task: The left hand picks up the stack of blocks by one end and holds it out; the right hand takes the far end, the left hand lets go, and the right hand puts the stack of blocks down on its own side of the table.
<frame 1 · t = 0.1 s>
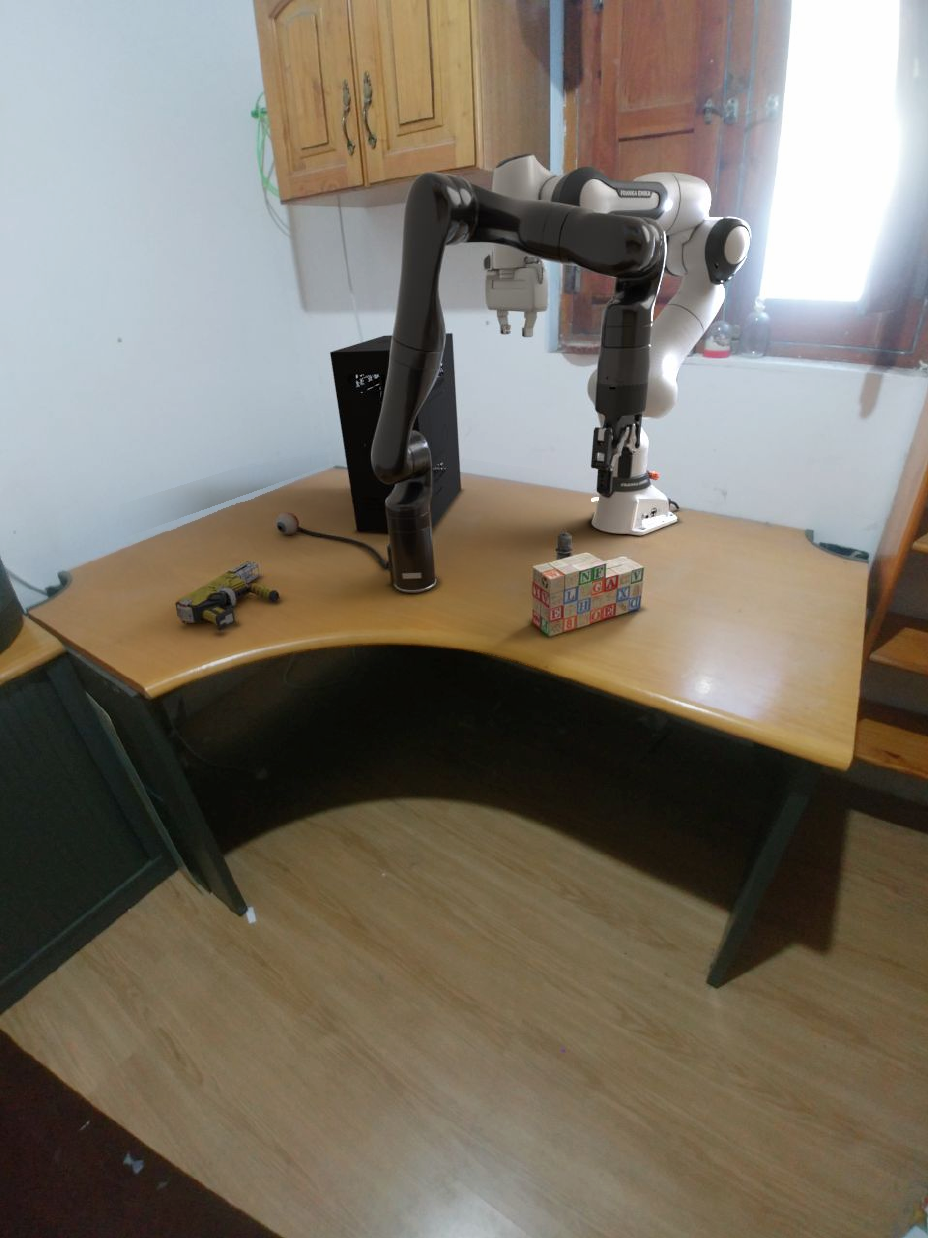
left hand: (614, 485, 97), 29 cm above the table, tool pointing down, fingers open, 8 cm apart
right hand: (516, 335, 125), 48 cm above the table, tool pointing down, fingers open, 8 cm apart
cardboard box: (413, 509, 178), on the table
stack of blocks: (586, 615, 119), on the table
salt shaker: (563, 581, 132), on the table
eyeball: (289, 534, 165), on the table
toy gun: (242, 603, 131), on the table
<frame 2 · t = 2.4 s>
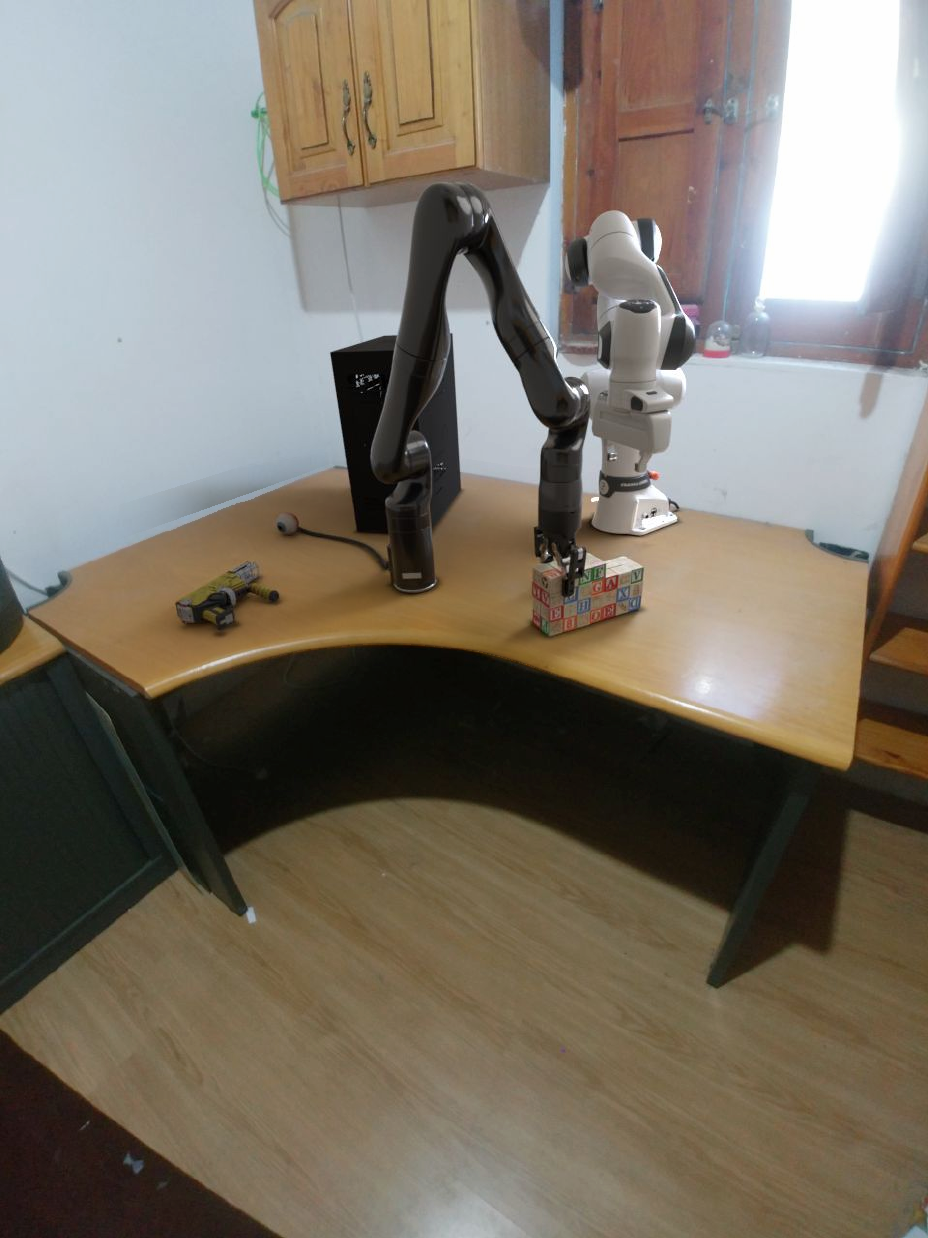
left hand: (557, 588, 112), 8 cm above the table, tool pointing down, fingers closed on stack of blocks, 6 cm apart
right hand: (625, 466, 123), 24 cm above the table, tool pointing down, fingers open, 8 cm apart
stack of blocks: (586, 615, 119), on the table, touching left hand
everything else where it was.
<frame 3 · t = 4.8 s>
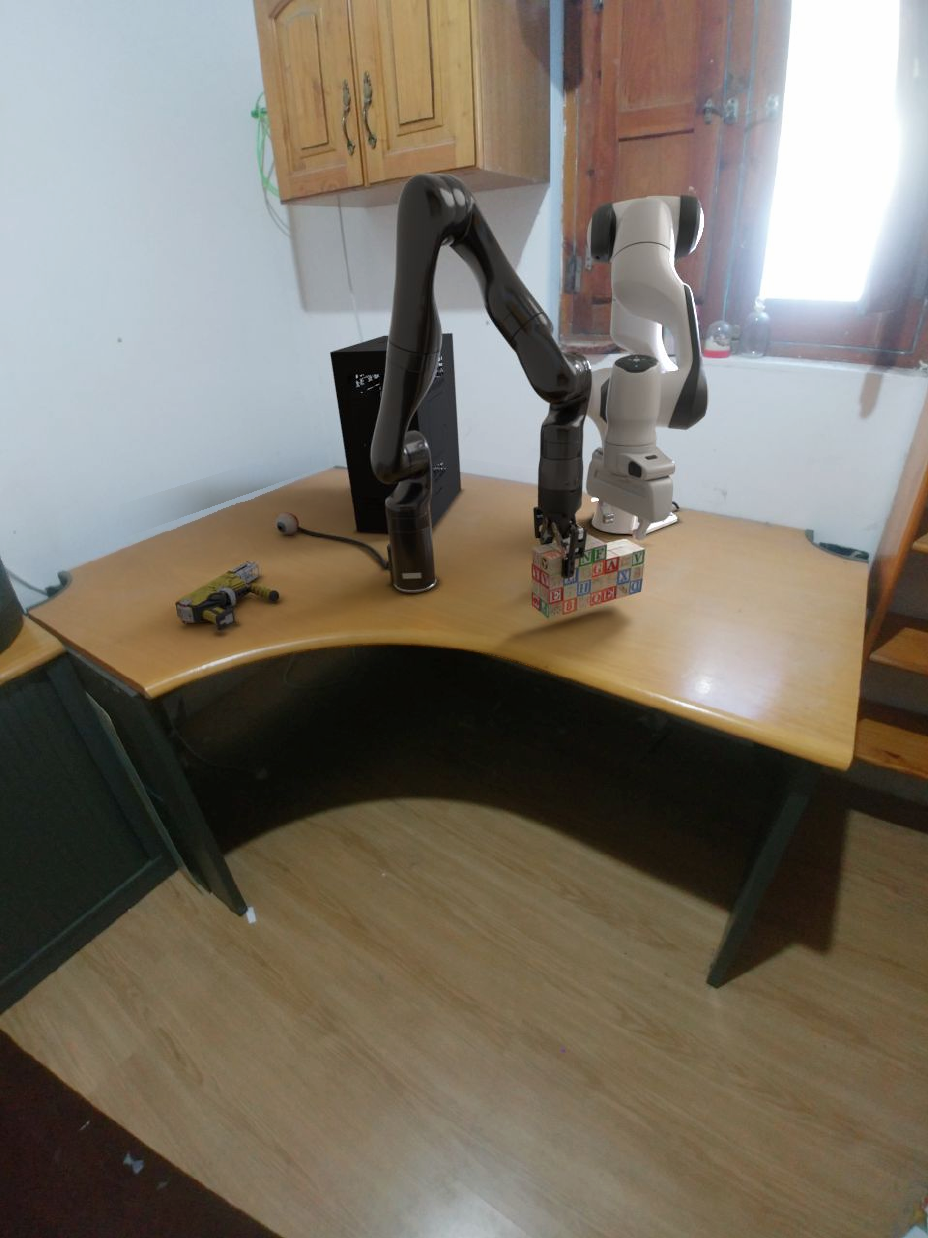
left hand: (557, 569, 111), 12 cm above the table, tool pointing down, fingers closed on stack of blocks, 6 cm apart
right hand: (622, 530, 113), 16 cm above the table, tool pointing down, fingers open, 8 cm apart
stack of blocks: (586, 599, 117), point 4 cm above the table, touching left hand
everything else where it was.
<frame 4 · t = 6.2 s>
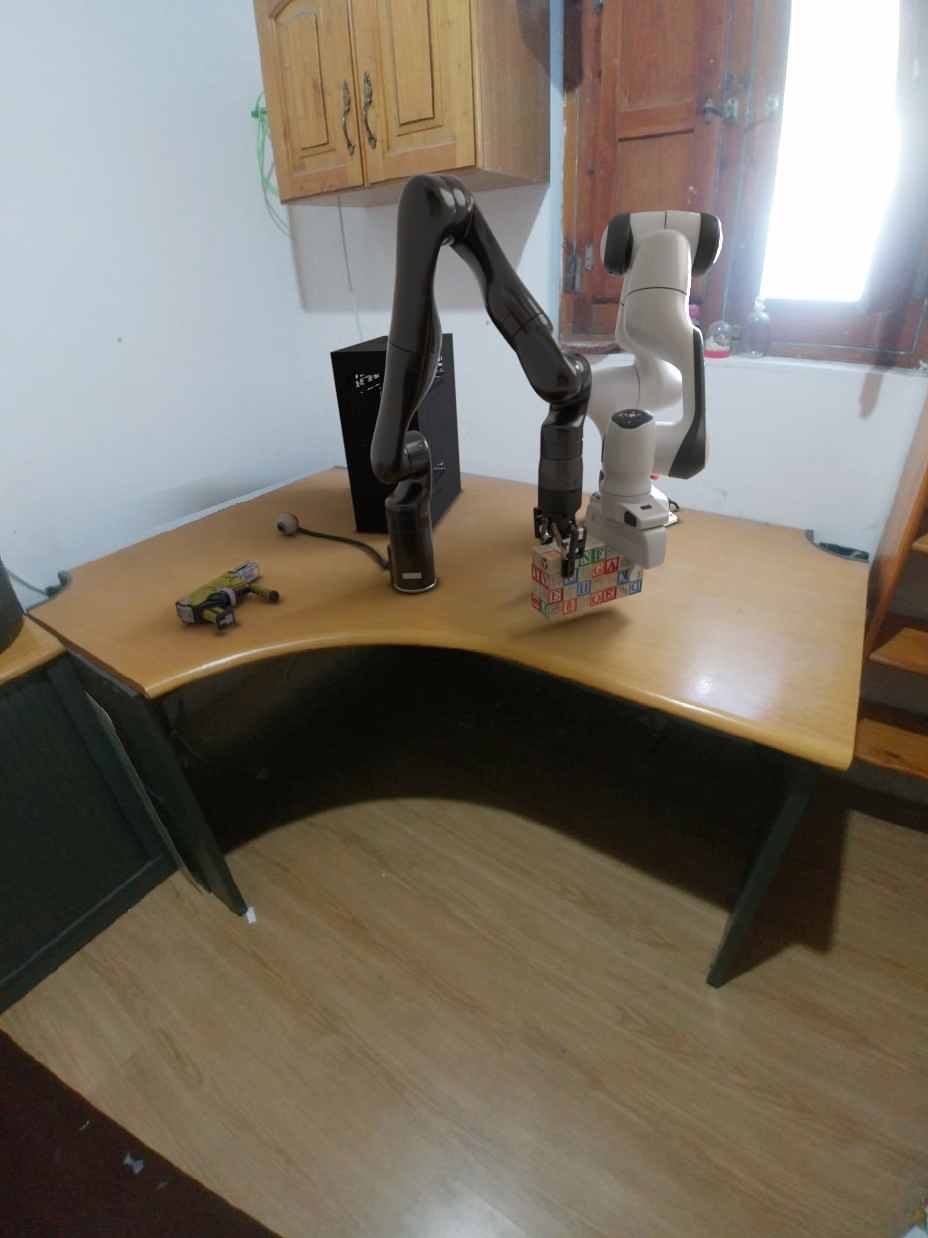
left hand: (557, 570, 111), 12 cm above the table, tool pointing down, fingers closed on stack of blocks, 6 cm apart
right hand: (618, 572, 117), 8 cm above the table, tool pointing down, fingers closed on stack of blocks, 6 cm apart
stack of blocks: (586, 599, 117), point 4 cm above the table, touching right hand, left hand
everything else where it was.
when the left hand's fingers open (12 cm above the table, at t = 7.5 s): stack of blocks stays where it is, held by the right hand.
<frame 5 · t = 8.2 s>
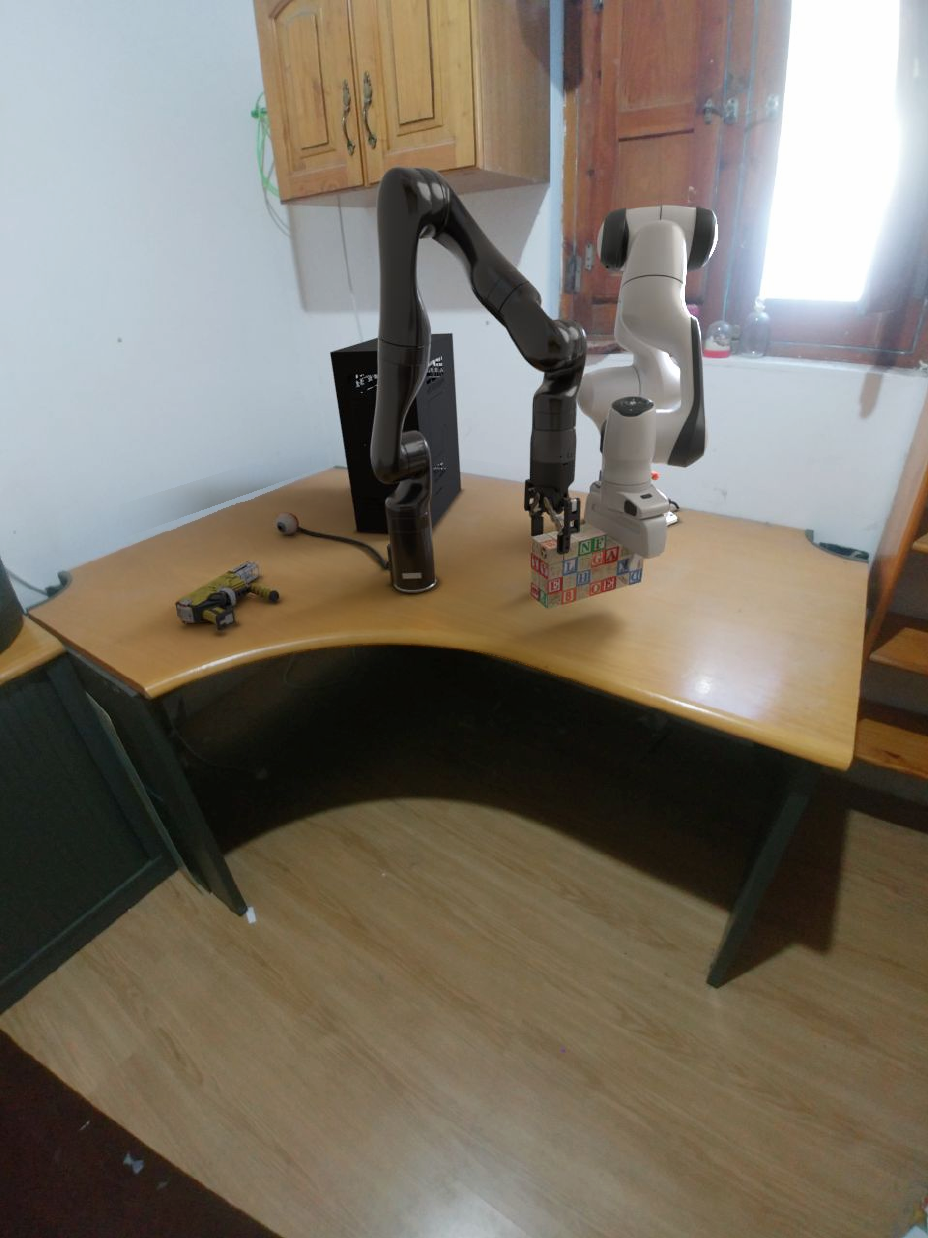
left hand: (549, 544, 108), 17 cm above the table, tool pointing down, fingers open, 8 cm apart
right hand: (618, 561, 117), 10 cm above the table, tool pointing down, fingers closed on stack of blocks, 6 cm apart
stack of blocks: (586, 589, 116), point 6 cm above the table, touching right hand
everything else where it was.
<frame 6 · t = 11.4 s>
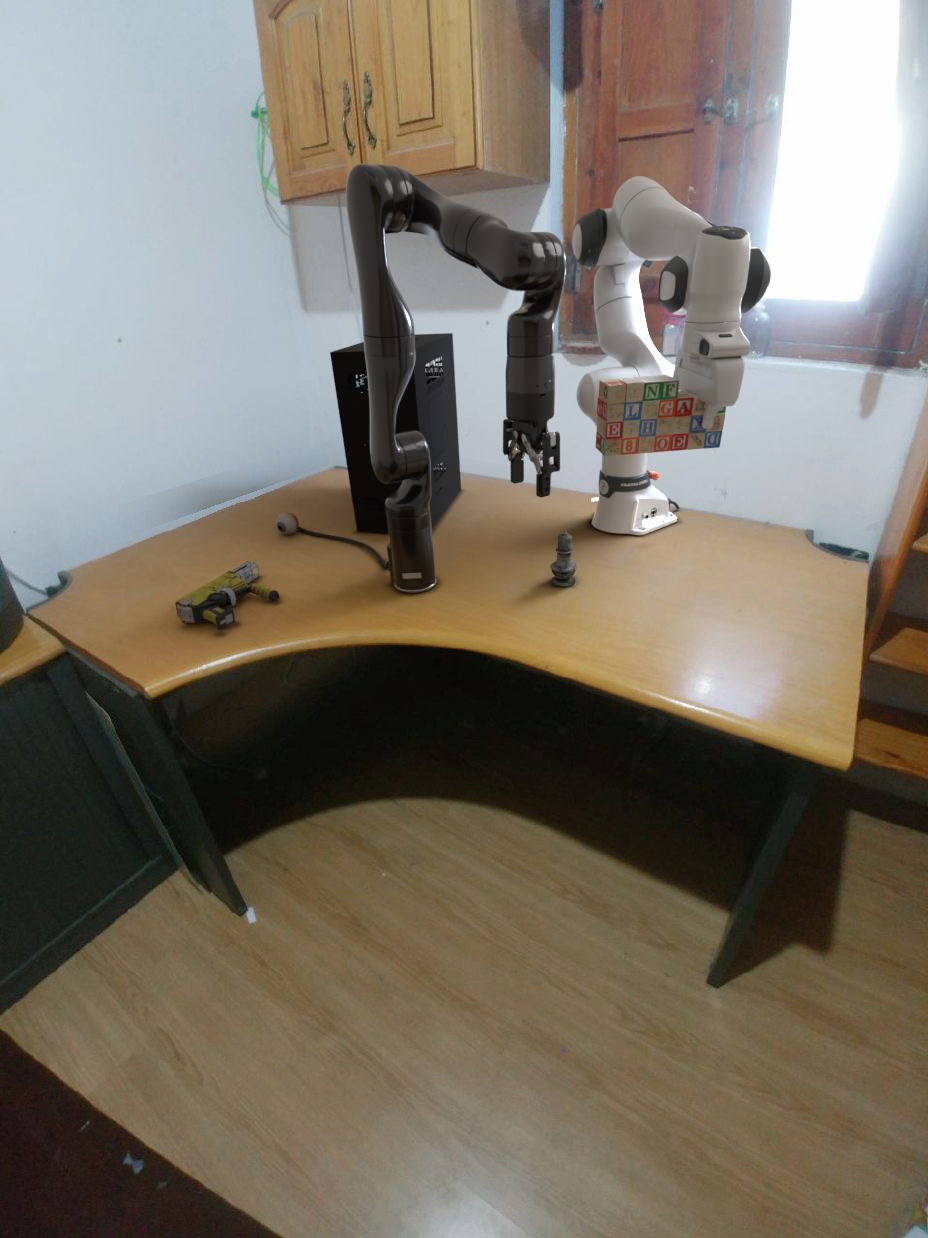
left hand: (529, 489, 100), 28 cm above the table, tool pointing down, fingers open, 8 cm apart
right hand: (697, 422, 109), 34 cm above the table, tool pointing down, fingers closed on stack of blocks, 6 cm apart
stack of blocks: (656, 448, 111), point 30 cm above the table, touching right hand
everything else where it was.
when the right hand's fingers open (6 cm above the table, at t = 16.5 s): stack of blocks drops 2 cm, on the table.
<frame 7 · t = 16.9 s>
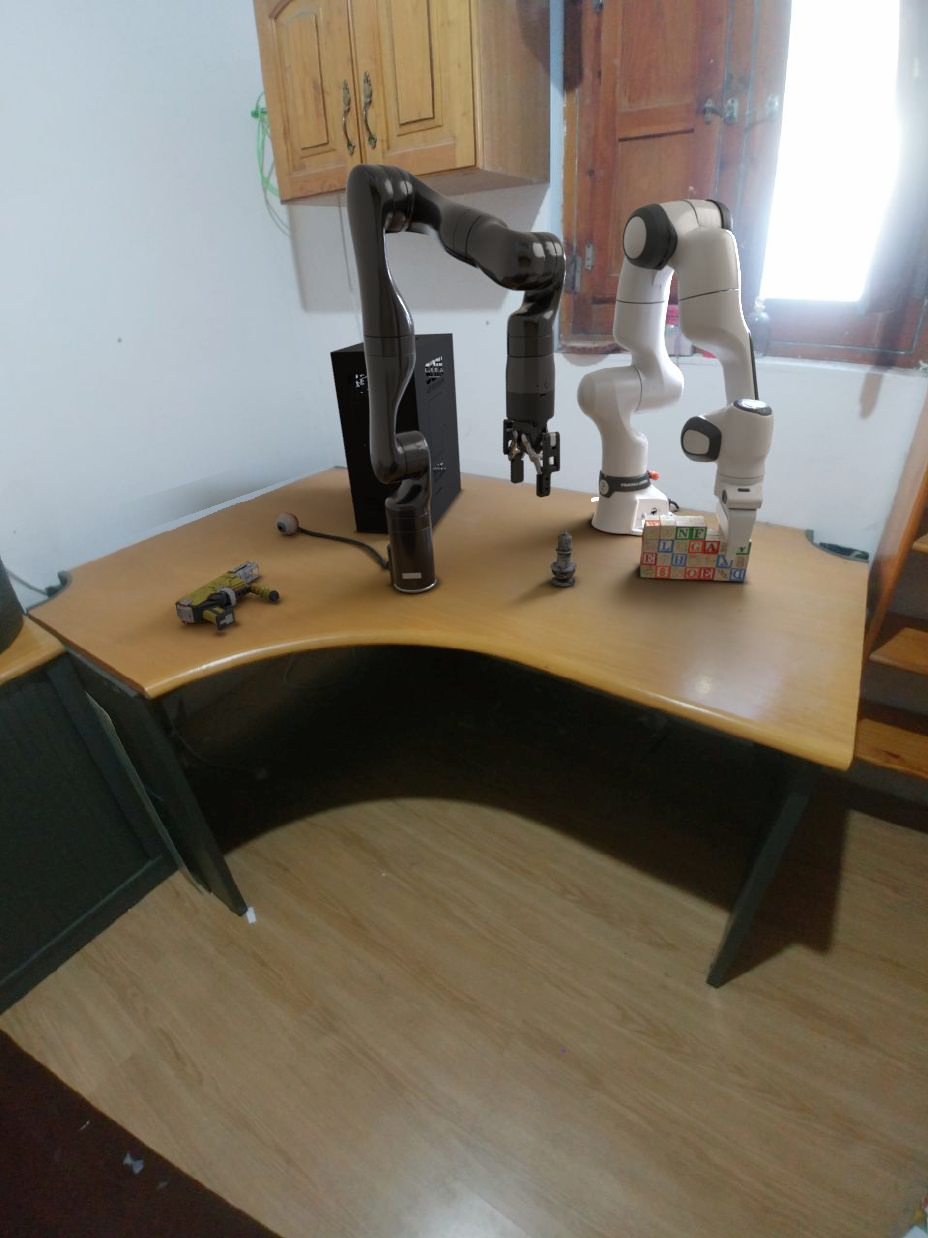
left hand: (529, 489, 100), 28 cm above the table, tool pointing down, fingers open, 8 cm apart
right hand: (725, 549, 128), 6 cm above the table, tool pointing down, fingers open, 8 cm apart
stack of blocks: (689, 573, 132), on the table
everything else where it was.
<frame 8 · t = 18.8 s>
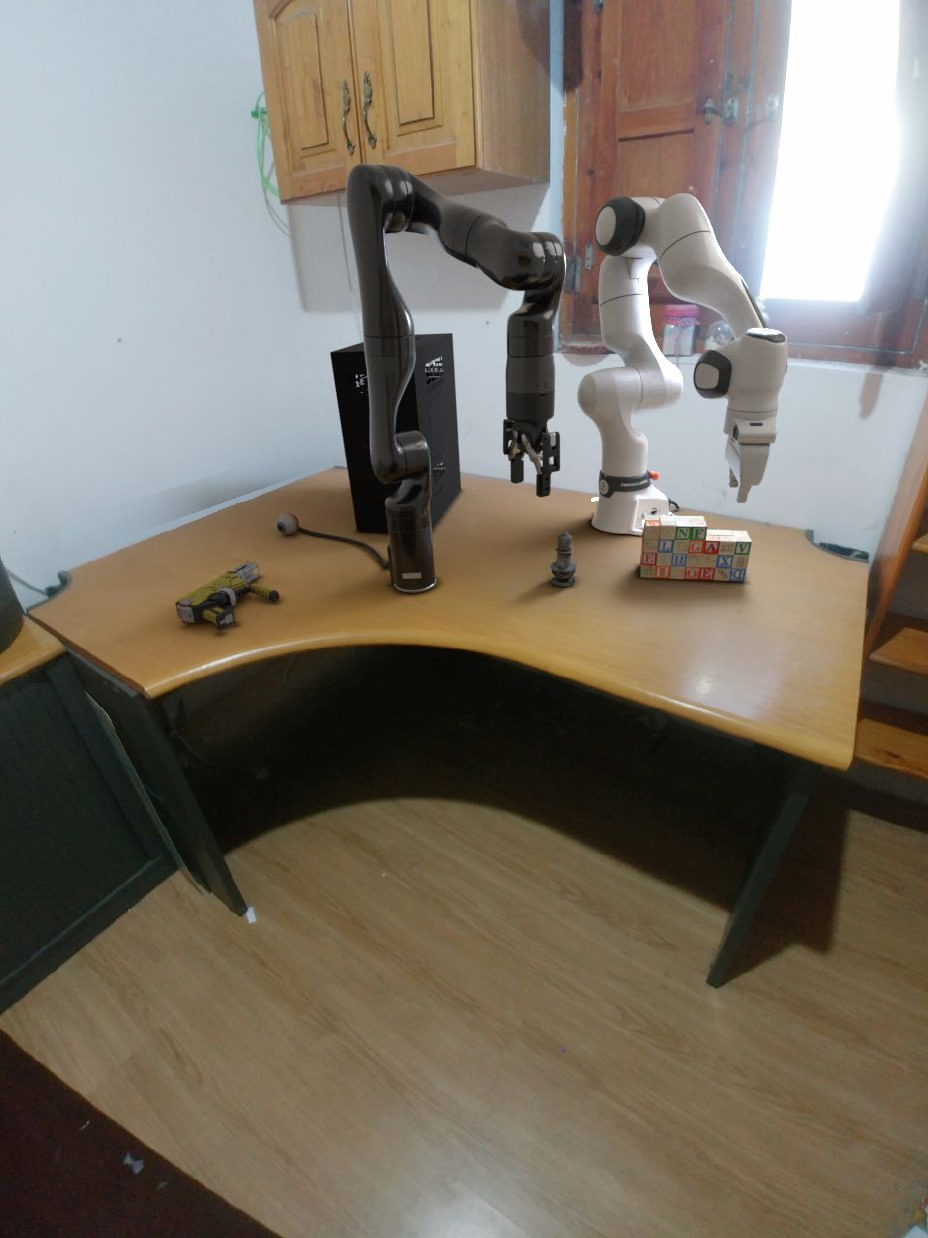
left hand: (529, 489, 100), 28 cm above the table, tool pointing down, fingers open, 8 cm apart
right hand: (736, 493, 122), 18 cm above the table, tool pointing down, fingers open, 8 cm apart
nothing on the table moved.
at the end: stack of blocks inside the target area (6.5 cm from its centre), on the table; the left hand is holding nothing; the right hand is holding nothing; stack of blocks at rest at the end (0.0 cm/s) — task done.
